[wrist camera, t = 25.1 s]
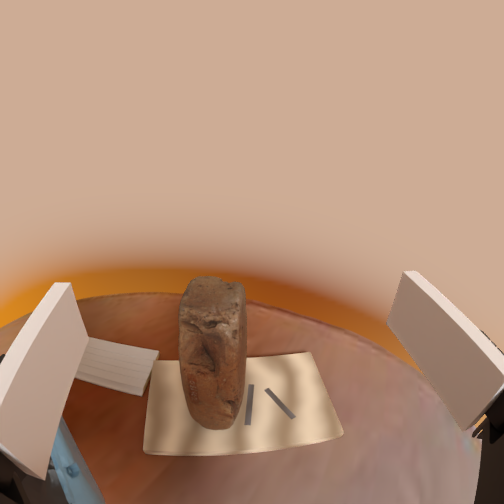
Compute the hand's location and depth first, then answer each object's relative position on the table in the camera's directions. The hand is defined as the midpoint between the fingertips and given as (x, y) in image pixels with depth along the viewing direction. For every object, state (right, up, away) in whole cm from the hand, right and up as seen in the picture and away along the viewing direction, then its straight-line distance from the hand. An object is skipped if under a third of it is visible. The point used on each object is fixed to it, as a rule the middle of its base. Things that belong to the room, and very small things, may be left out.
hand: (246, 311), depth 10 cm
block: (-5, -21, +28) cm, 35 cm away
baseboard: (-33, -19, +34) cm, 51 cm away
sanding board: (-2, -21, +30) cm, 37 cm away
